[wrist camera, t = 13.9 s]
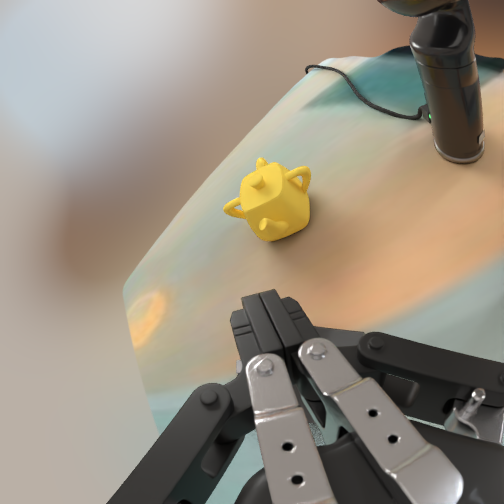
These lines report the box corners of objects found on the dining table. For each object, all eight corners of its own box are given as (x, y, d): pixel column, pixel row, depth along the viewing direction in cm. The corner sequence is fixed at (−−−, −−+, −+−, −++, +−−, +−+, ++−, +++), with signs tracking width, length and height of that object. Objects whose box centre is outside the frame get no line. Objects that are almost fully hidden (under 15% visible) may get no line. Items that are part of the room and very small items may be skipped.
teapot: (338, 199, 46) (312, 156, 39) (294, 262, 45) (259, 227, 38) (282, 181, 56) (254, 145, 48) (243, 233, 55) (208, 202, 47)
